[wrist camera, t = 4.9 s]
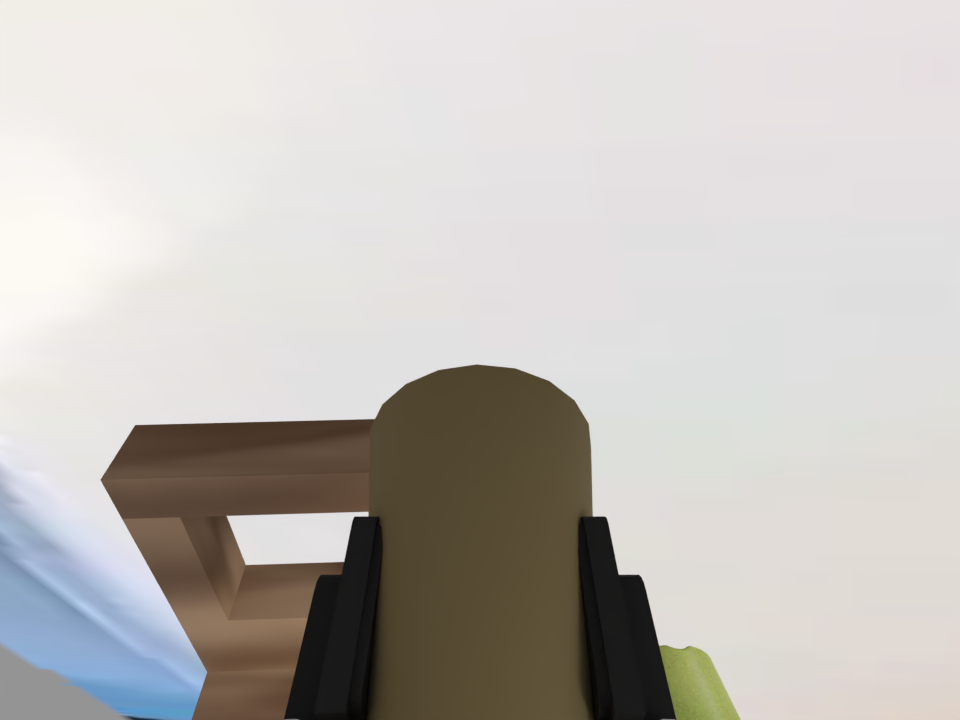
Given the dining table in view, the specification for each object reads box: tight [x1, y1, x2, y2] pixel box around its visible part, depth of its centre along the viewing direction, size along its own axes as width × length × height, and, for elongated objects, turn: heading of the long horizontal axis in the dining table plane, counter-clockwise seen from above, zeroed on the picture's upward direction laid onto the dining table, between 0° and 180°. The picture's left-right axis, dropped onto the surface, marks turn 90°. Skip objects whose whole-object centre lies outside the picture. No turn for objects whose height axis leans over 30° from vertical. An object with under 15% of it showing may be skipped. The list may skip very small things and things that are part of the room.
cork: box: [366, 364, 594, 720], centre depth 12 cm, size 6×6×11 cm
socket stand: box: [101, 419, 375, 720], centre depth 24 cm, size 17×13×13 cm
